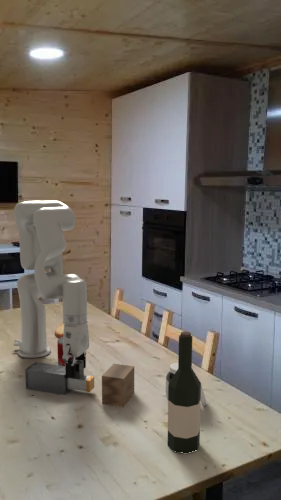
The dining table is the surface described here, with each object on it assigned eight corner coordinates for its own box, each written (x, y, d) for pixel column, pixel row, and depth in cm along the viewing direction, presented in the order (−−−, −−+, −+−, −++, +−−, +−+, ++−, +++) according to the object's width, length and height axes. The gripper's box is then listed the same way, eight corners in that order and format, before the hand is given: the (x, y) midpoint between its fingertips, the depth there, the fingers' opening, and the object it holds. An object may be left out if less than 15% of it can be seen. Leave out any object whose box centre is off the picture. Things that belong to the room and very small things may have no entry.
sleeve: (25, 388, 153) (25, 369, 152) (36, 380, 159) (35, 362, 158) (64, 394, 149) (64, 375, 148) (73, 386, 155) (73, 367, 154)
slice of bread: (59, 340, 199) (59, 332, 199) (45, 329, 215) (45, 321, 214) (98, 334, 208) (98, 326, 208) (82, 323, 224) (82, 315, 223)
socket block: (102, 403, 143) (101, 375, 142) (113, 389, 152) (113, 363, 151) (123, 407, 141) (123, 378, 140) (134, 393, 150) (134, 366, 149)
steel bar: (32, 383, 154) (31, 358, 152) (37, 378, 157) (37, 354, 156) (89, 392, 147) (89, 366, 146) (94, 387, 151) (94, 361, 150)
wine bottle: (165, 436, 125) (166, 328, 120) (196, 435, 126) (198, 327, 121) (169, 454, 117) (171, 339, 112) (202, 453, 117) (205, 338, 113)
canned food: (76, 374, 165) (75, 343, 163) (54, 372, 166) (53, 342, 165) (83, 365, 172) (82, 336, 171) (62, 363, 174) (61, 335, 172)
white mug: (162, 397, 147) (162, 362, 146) (193, 391, 152) (194, 357, 150) (180, 415, 136) (180, 377, 135) (213, 408, 141) (214, 371, 139)
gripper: (73, 327, 138) (74, 385, 141) (97, 312, 154) (97, 363, 157) (50, 325, 140) (52, 381, 143) (76, 309, 157) (77, 360, 159)
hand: (75, 371), depth 150 cm, fingers open, 6 cm apart
